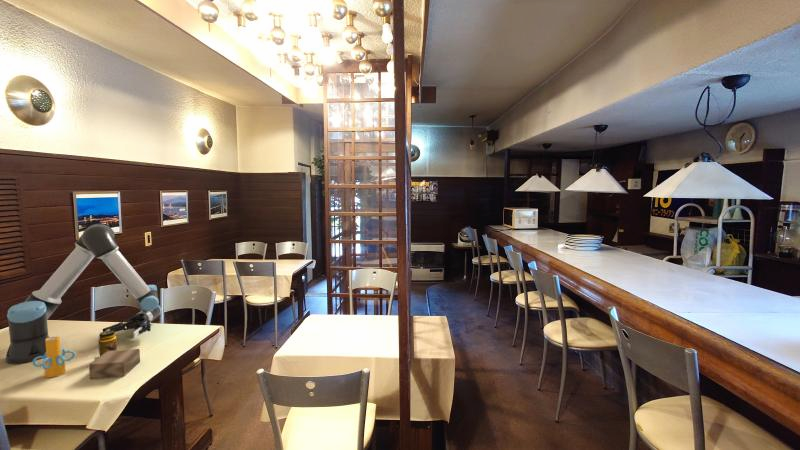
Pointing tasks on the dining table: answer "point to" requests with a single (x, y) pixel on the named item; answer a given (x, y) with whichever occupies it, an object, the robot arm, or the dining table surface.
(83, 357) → the dining table surface
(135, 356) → the riser
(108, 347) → the condiment
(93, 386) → the dining table surface
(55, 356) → the cylinder
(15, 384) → the dining table surface
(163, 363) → the dining table surface
